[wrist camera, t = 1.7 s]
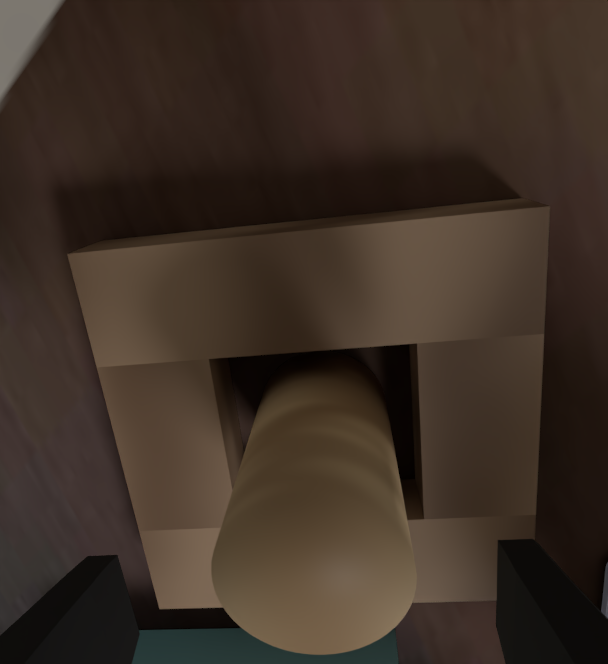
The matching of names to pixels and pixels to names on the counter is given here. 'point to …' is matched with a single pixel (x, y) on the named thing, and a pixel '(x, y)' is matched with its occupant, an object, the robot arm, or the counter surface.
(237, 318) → the socket block
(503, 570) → the robot arm
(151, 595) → the counter surface
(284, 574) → the dowel
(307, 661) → the tray
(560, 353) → the counter surface
